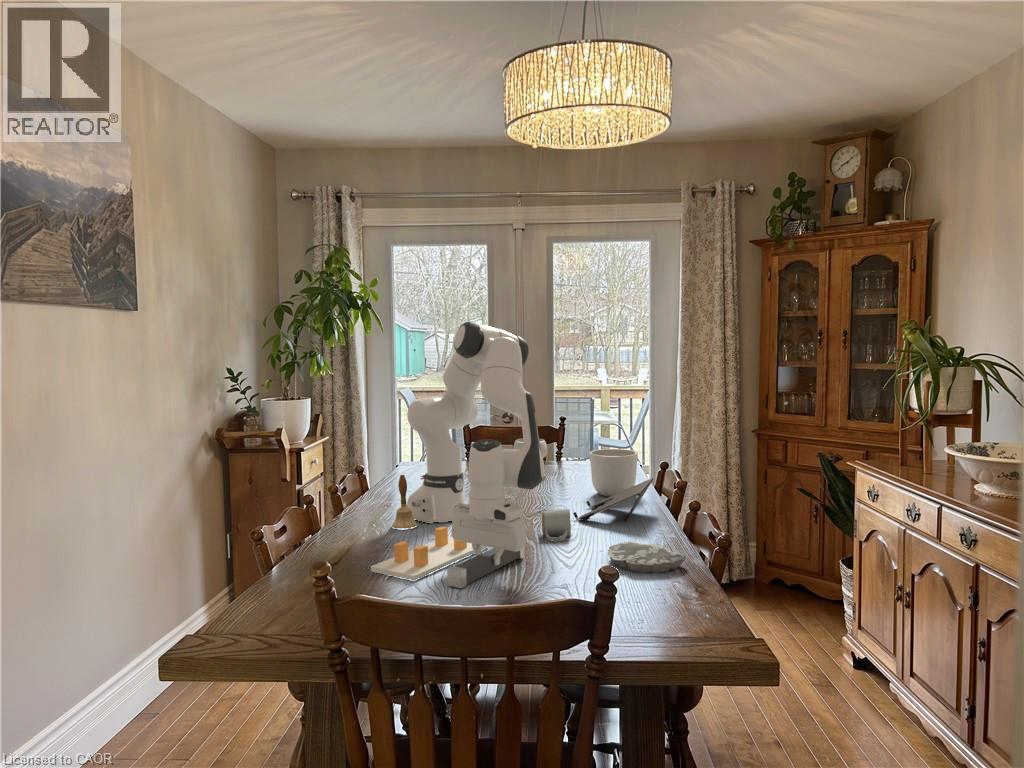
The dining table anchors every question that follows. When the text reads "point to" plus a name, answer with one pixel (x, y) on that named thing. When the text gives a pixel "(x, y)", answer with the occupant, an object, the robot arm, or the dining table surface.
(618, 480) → the planter
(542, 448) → the chalice
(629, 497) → the portable electronic device stand
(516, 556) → the bar
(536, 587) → the dining table surface
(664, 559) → the brain slice
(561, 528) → the ceramic mug
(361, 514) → the dining table surface
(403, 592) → the dining table surface
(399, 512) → the hand bell
